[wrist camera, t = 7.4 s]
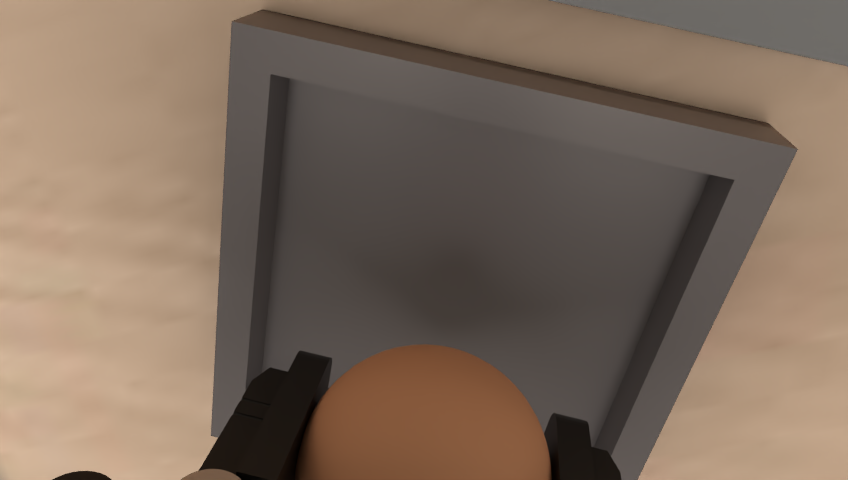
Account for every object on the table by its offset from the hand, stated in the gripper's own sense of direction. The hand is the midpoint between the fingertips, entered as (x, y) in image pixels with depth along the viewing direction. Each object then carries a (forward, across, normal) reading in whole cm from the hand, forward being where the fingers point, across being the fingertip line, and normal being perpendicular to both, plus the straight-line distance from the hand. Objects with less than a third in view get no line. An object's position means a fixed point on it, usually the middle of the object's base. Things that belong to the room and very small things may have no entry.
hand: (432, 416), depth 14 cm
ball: (-2, 0, 0) cm, 2 cm away
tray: (+6, 0, 0) cm, 6 cm away
